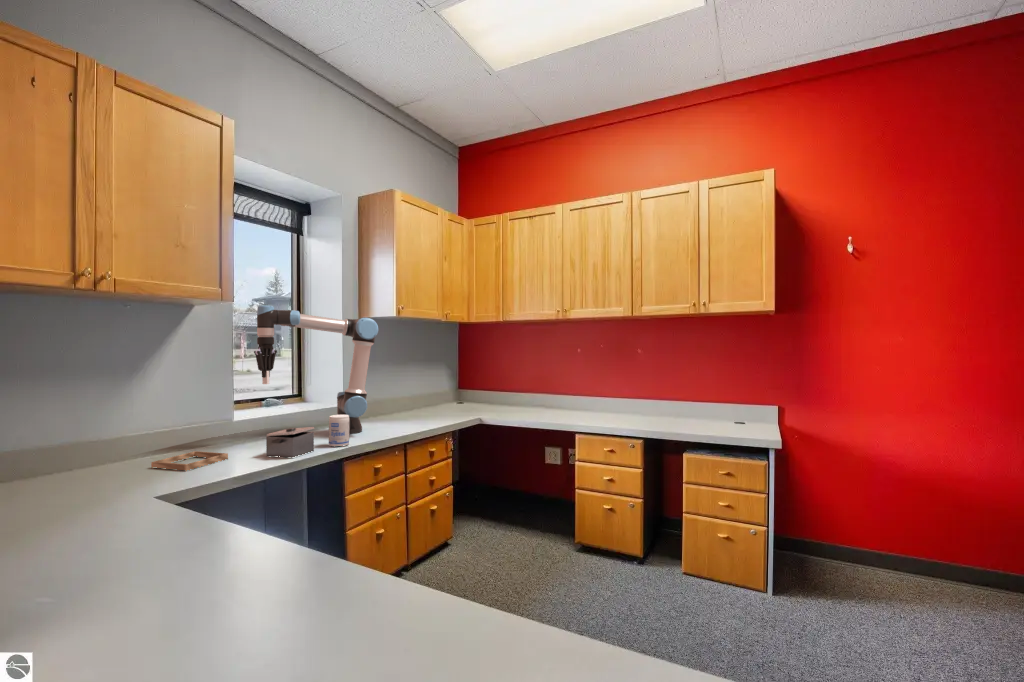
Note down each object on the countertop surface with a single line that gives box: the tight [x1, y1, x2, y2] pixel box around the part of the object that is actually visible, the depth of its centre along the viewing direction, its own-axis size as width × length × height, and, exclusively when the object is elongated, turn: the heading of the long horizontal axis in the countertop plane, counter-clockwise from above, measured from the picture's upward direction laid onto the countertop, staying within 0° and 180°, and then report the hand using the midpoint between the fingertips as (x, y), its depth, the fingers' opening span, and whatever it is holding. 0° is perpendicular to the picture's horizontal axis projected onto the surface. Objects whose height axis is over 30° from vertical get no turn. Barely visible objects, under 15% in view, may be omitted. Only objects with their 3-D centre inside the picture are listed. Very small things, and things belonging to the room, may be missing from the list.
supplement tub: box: [328, 414, 350, 448], centre depth 238 cm, size 10×10×15 cm
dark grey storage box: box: [265, 431, 315, 458], centre depth 220 cm, size 19×14×9 cm
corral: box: [150, 450, 229, 472], centre depth 203 cm, size 20×18×2 cm
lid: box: [266, 426, 315, 436], centre depth 220 cm, size 14×15×2 cm
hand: (265, 383), depth 239 cm, fingers closed
